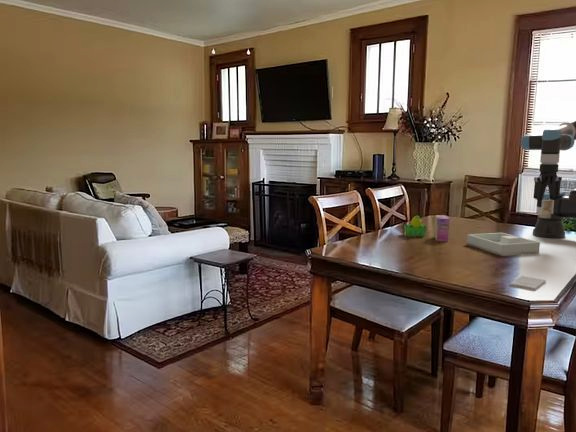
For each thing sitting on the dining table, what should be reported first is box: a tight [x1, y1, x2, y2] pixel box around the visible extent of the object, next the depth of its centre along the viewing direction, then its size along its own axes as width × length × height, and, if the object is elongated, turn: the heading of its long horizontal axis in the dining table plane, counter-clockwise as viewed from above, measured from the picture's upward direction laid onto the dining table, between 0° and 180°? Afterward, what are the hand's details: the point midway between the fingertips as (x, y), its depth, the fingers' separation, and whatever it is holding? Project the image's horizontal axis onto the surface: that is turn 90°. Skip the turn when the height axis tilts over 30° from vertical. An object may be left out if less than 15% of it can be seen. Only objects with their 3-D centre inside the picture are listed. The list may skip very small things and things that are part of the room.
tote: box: [466, 232, 541, 257], centre depth 215 cm, size 20×24×5 cm
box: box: [434, 214, 450, 243], centre depth 236 cm, size 10×6×12 cm, turn 168°
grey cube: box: [500, 235, 520, 244], centre depth 211 cm, size 6×6×6 cm
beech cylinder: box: [539, 200, 552, 218], centre depth 215 cm, size 5×5×8 cm
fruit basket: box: [403, 215, 428, 238], centre depth 245 cm, size 11×9×11 cm
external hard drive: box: [508, 275, 547, 292], centre depth 161 cm, size 2×8×12 cm
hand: (545, 213), depth 216 cm, fingers closed on beech cylinder, 5 cm apart
